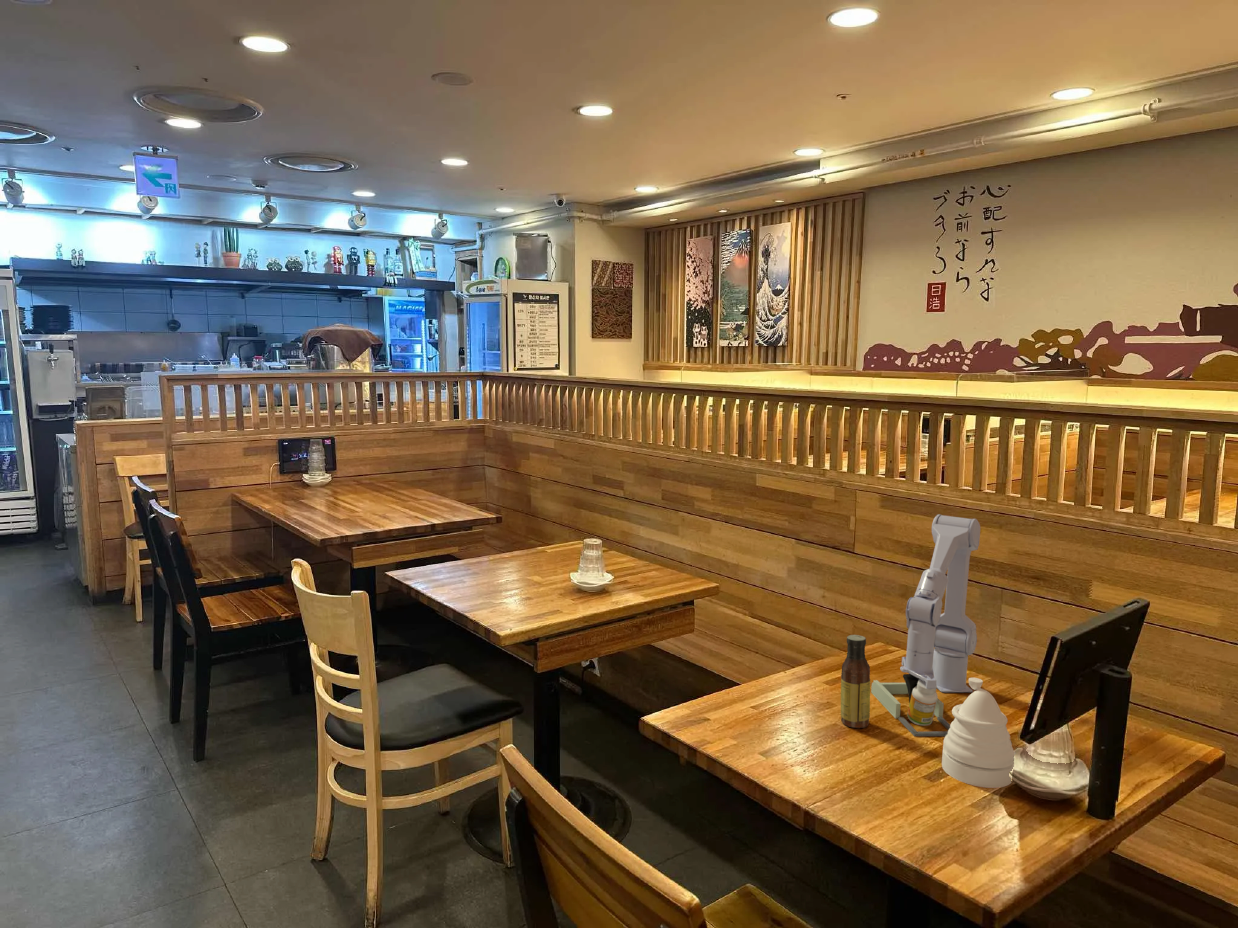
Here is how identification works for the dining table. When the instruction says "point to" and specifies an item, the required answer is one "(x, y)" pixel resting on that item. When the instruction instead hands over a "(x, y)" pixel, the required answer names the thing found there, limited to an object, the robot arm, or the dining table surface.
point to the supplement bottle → (922, 704)
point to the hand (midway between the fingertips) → (915, 707)
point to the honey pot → (978, 742)
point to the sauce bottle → (855, 684)
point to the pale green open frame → (888, 700)
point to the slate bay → (926, 733)
